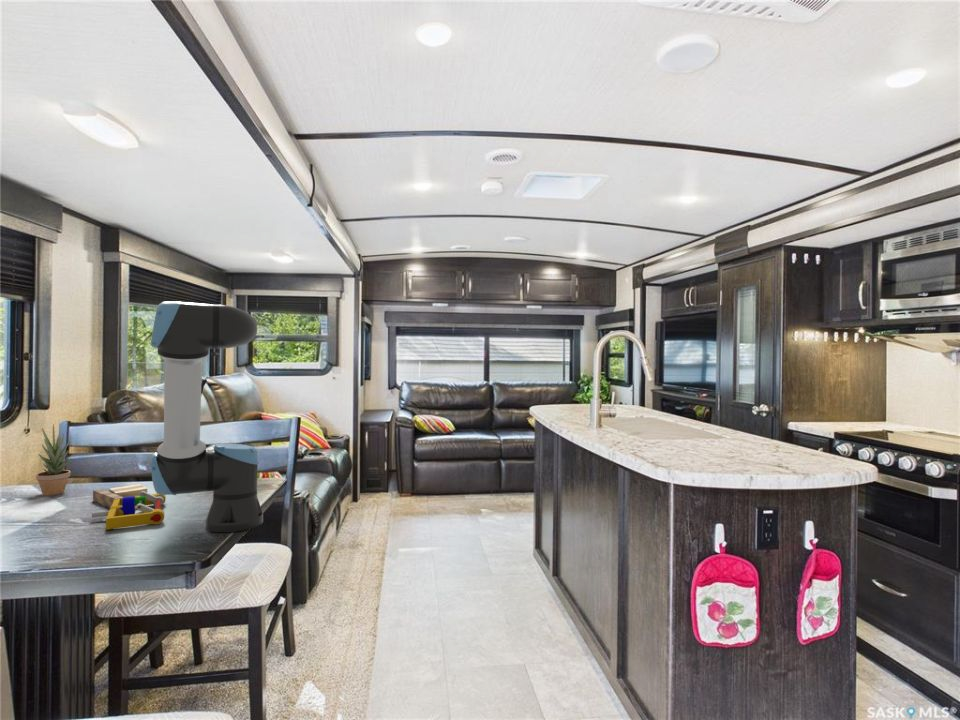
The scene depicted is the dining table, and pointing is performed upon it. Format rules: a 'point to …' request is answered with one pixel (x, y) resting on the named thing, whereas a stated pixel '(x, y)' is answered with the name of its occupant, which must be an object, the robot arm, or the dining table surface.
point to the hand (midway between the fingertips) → (185, 428)
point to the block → (128, 490)
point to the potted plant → (53, 467)
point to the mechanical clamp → (125, 511)
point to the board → (104, 497)
